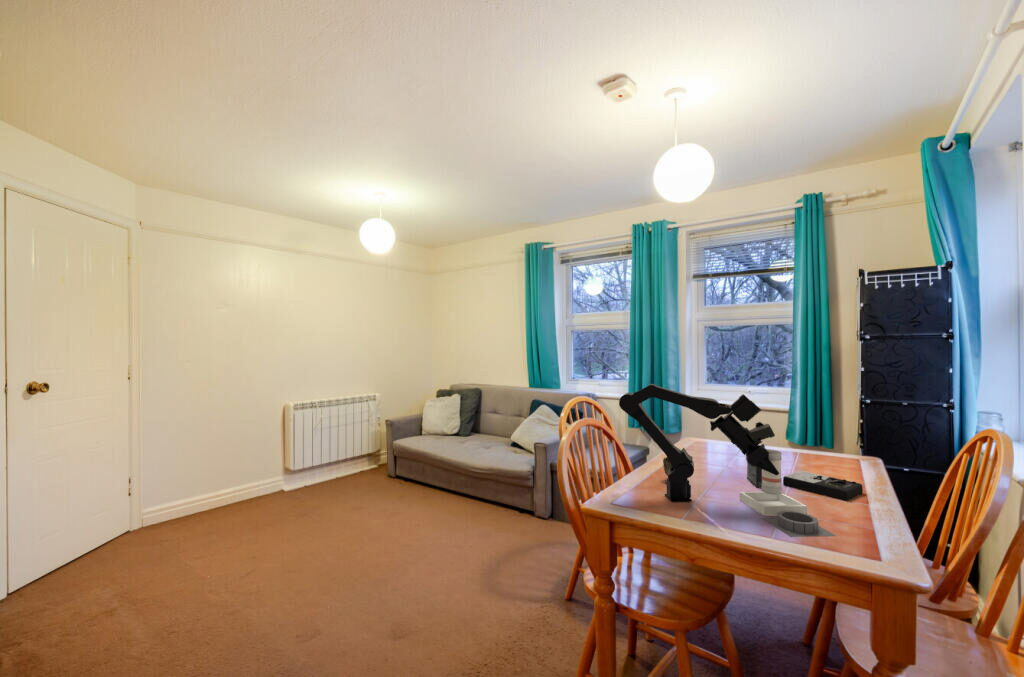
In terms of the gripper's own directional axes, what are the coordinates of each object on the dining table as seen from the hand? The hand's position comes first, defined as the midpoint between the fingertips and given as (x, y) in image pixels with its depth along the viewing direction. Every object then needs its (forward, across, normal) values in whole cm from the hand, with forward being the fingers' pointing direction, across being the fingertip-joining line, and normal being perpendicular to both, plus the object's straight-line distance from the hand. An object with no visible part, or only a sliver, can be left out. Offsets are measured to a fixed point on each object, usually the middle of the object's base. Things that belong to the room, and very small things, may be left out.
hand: (776, 472), depth 132 cm
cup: (-13, +19, +30) cm, 37 cm away
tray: (+7, 0, +9) cm, 12 cm away
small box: (+8, +28, +9) cm, 30 cm away
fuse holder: (+10, -14, +6) cm, 18 cm away
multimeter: (+21, +28, -4) cm, 36 cm away
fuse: (+3, 0, +5) cm, 6 cm away
